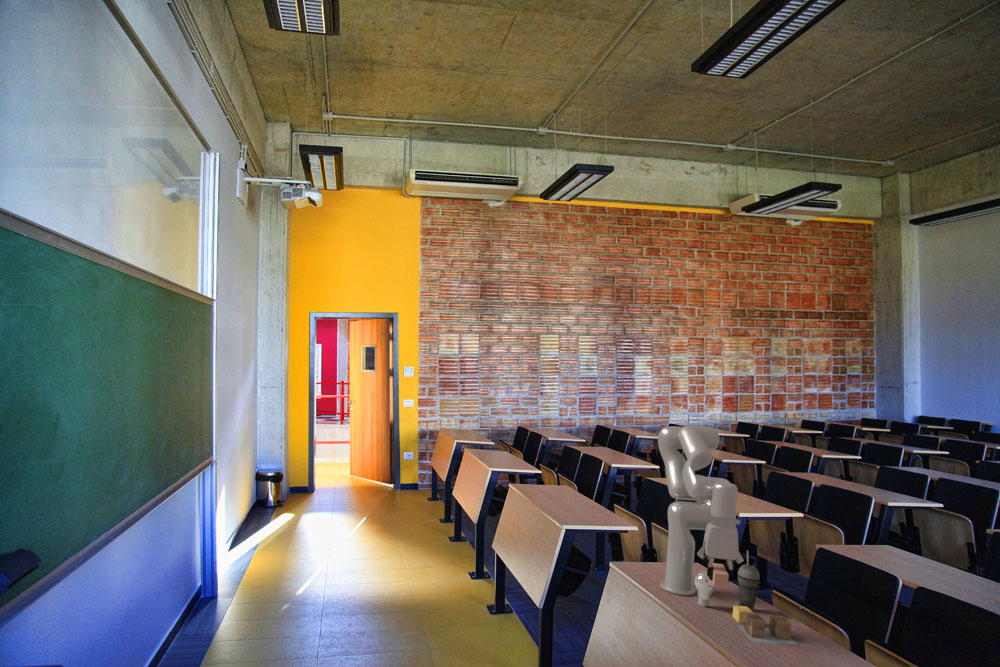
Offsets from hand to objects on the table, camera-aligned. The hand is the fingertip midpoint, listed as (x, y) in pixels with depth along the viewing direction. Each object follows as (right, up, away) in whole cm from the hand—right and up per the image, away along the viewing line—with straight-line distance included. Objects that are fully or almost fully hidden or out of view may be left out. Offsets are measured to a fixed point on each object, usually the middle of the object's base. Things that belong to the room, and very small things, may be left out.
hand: (718, 579), depth 193 cm
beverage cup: (+14, -17, +14) cm, 26 cm away
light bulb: (-1, -15, +13) cm, 20 cm away
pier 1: (+9, -14, -6) cm, 18 cm away
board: (+13, -15, -6) cm, 21 cm away
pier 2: (+17, -15, -6) cm, 23 cm away
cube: (+9, -16, +4) cm, 18 cm away
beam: (0, -1, 0) cm, 1 cm away
